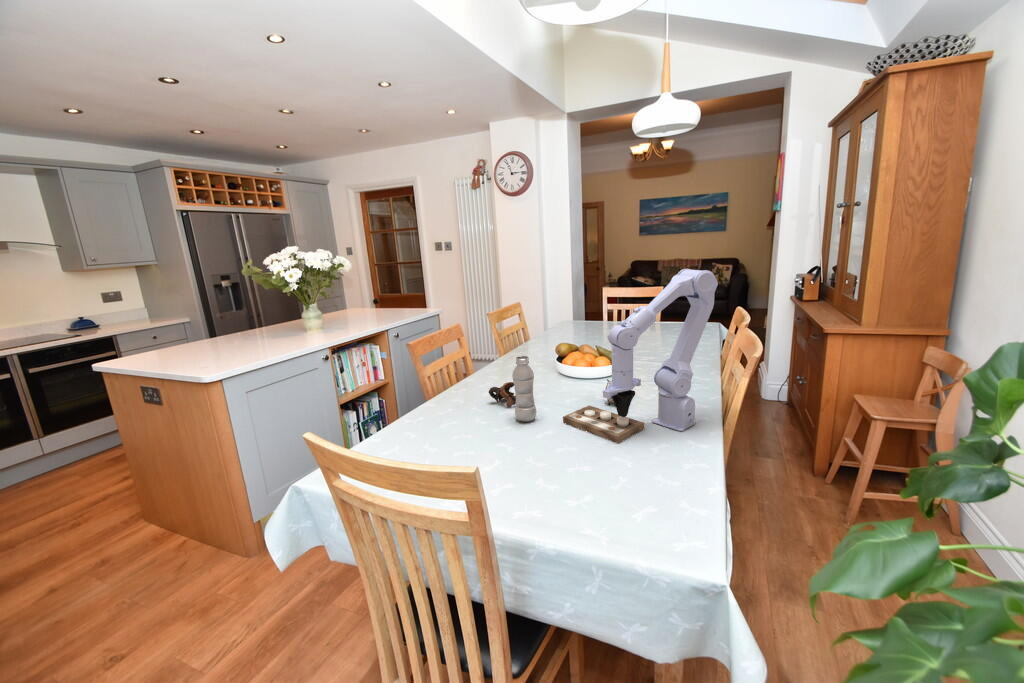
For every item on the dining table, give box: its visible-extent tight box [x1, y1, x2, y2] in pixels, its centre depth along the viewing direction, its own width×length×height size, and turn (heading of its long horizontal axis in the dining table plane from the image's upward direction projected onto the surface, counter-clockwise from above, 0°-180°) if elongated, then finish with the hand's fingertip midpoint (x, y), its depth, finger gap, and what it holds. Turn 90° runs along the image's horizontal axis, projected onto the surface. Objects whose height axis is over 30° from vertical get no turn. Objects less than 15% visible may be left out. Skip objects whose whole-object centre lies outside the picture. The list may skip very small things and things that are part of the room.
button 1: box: [584, 410, 595, 416], centre depth 132 cm, size 3×3×2 cm
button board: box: [562, 404, 645, 444], centre depth 127 cm, size 20×12×2 cm, turn 40°
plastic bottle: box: [511, 355, 538, 423], centre depth 133 cm, size 6×7×20 cm
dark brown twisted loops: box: [488, 381, 516, 408], centre depth 149 cm, size 12×10×8 cm
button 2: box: [617, 416, 629, 428], centre depth 123 cm, size 3×3×2 cm
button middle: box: [600, 410, 612, 422], centre depth 128 cm, size 3×3×2 cm
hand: (622, 415), depth 123 cm, fingers closed
